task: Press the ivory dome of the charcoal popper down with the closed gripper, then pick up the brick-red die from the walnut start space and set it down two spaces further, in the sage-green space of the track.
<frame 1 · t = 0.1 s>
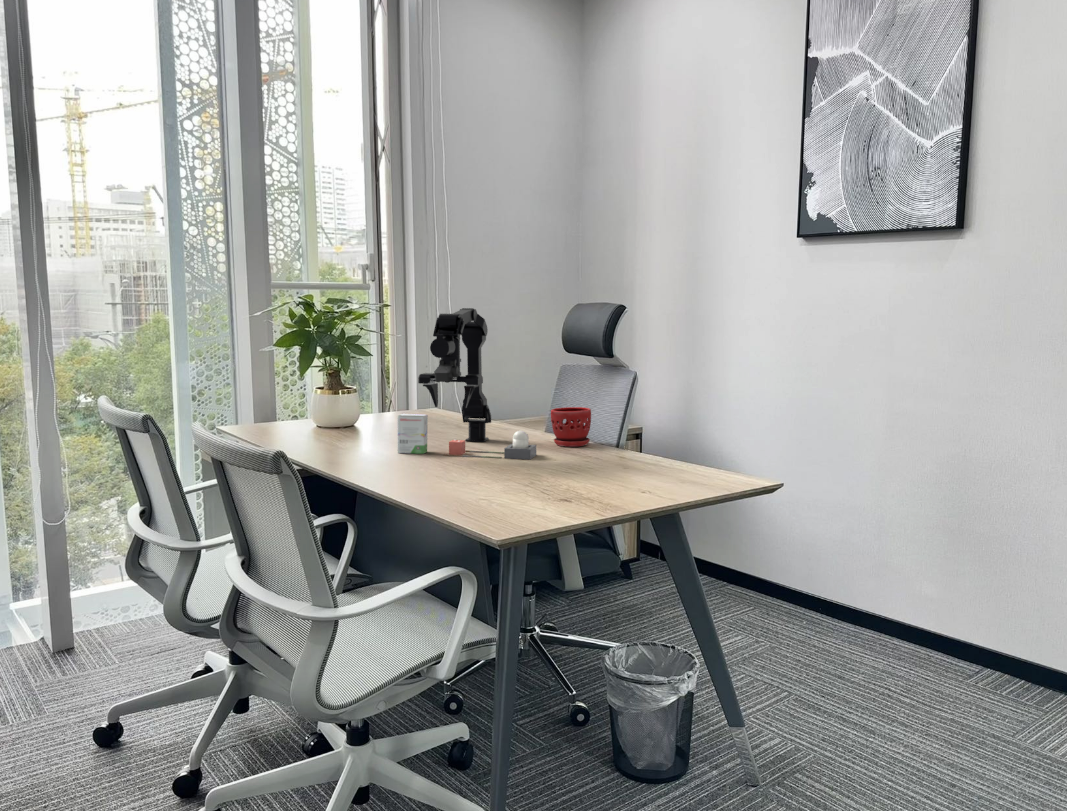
hand: (450, 407, 260), 15 cm above the table, fingers open, 9 cm apart
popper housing: (520, 456, 260), on the table
ink box: (412, 452, 267), on the table
dome: (520, 441, 260), point 5 cm above the table, slide at 0.0 cm
die: (457, 454, 265), on the table
plant pot: (570, 445, 281), on the table
track: (476, 454, 263), on the table
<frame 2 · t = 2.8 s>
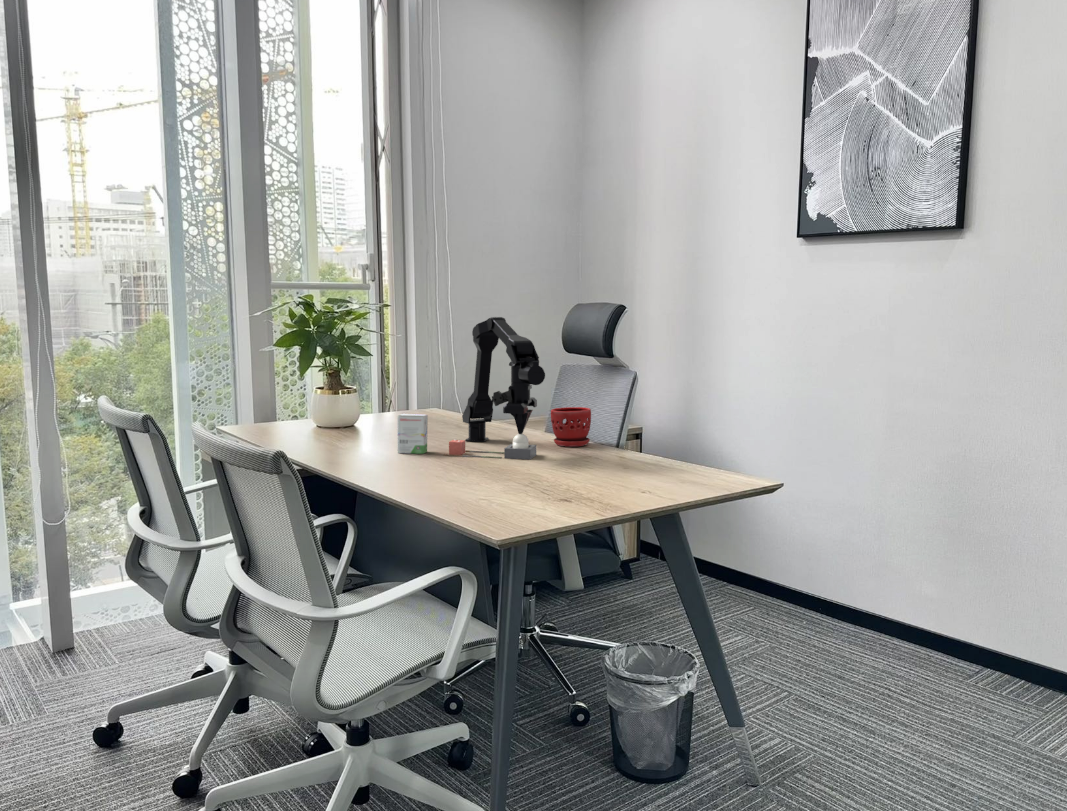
hand: (520, 433, 260), 7 cm above the table, fingers closed, pressing on dome
dome: (520, 444, 260), point 4 cm above the table, slide at -1.0 cm, touching gripper
everything else where it was.
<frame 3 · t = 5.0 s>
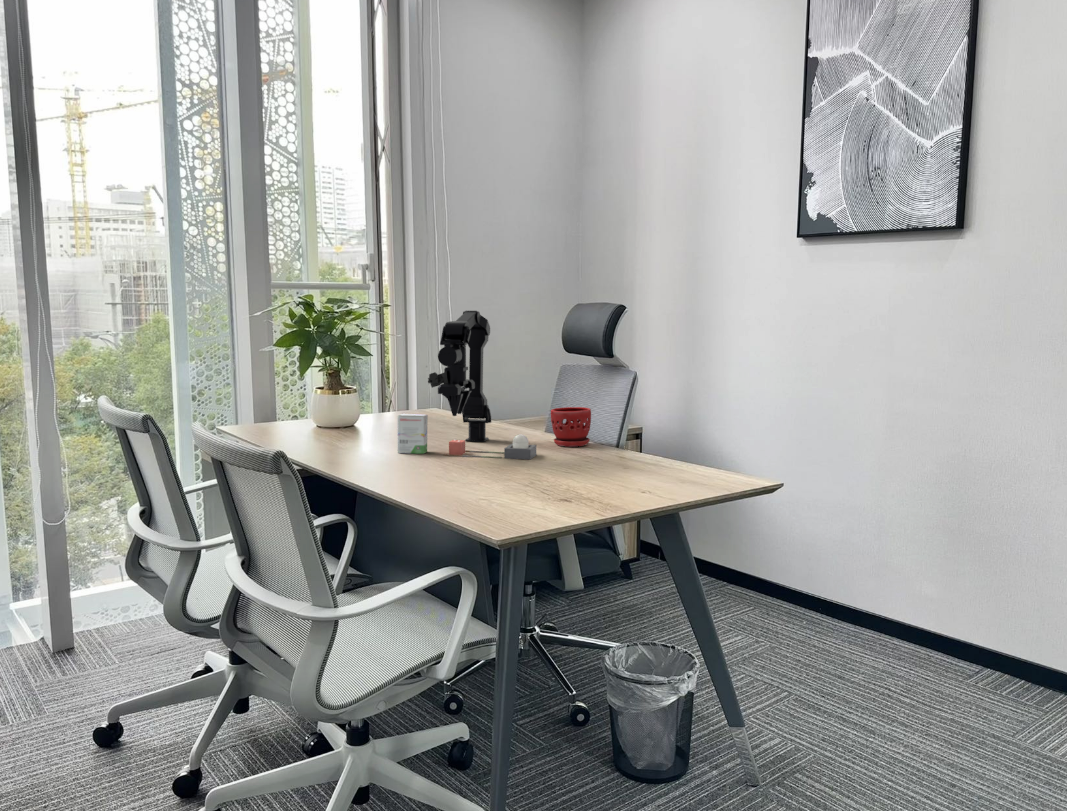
hand: (457, 414, 263), 12 cm above the table, fingers open, 5 cm apart
dome: (520, 444, 260), point 4 cm above the table, slide at -1.1 cm
everything else where it was.
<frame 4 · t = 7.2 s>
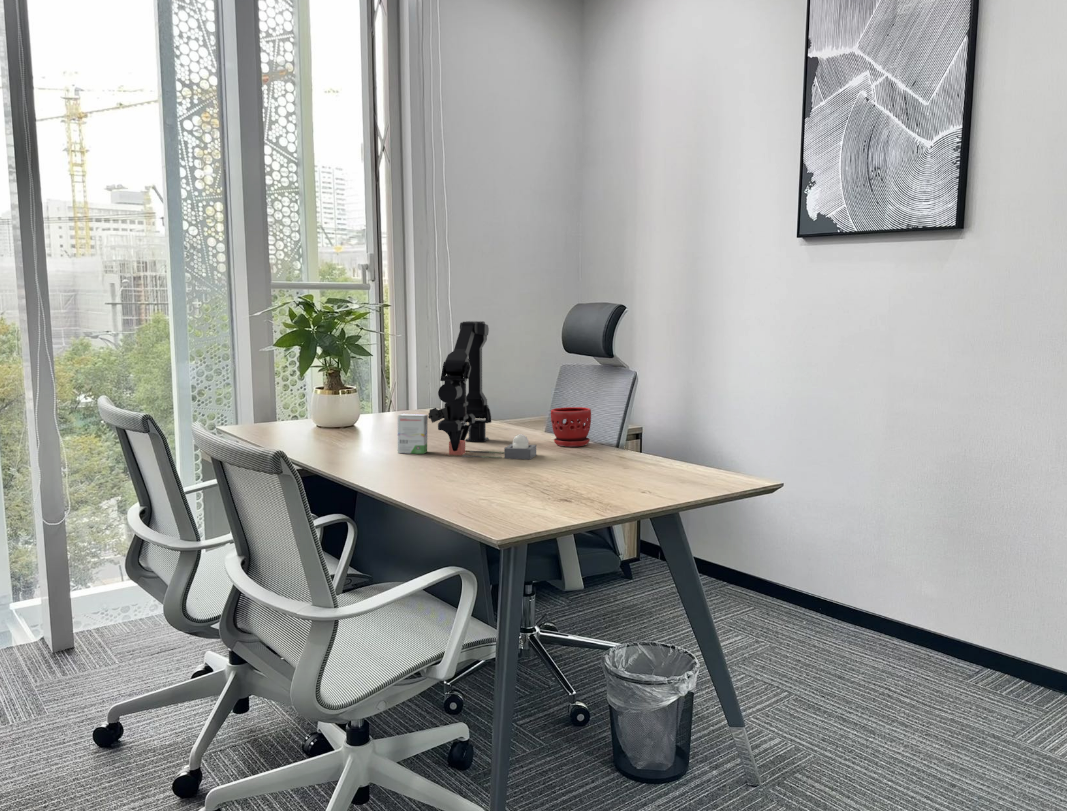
hand: (457, 449, 265), 1 cm above the table, fingers closed on die, 4 cm apart
die: (457, 453, 265), on the table, touching gripper
everything else where it was.
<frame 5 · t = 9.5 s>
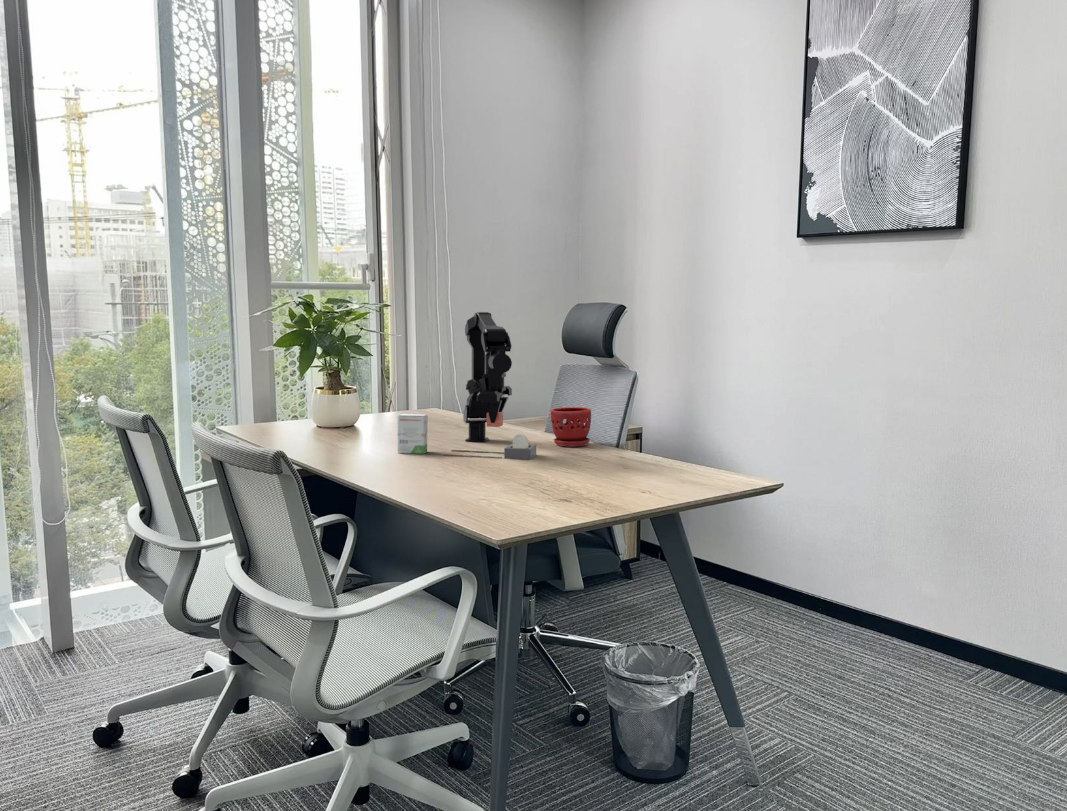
hand: (494, 421, 261), 10 cm above the table, fingers closed on die, 4 cm apart
die: (494, 425, 261), point 9 cm above the table, touching gripper
everything else where it was.
when the fingers open (2 cm above the table, at t = 11.6 s): die drops 1 cm, on the table.
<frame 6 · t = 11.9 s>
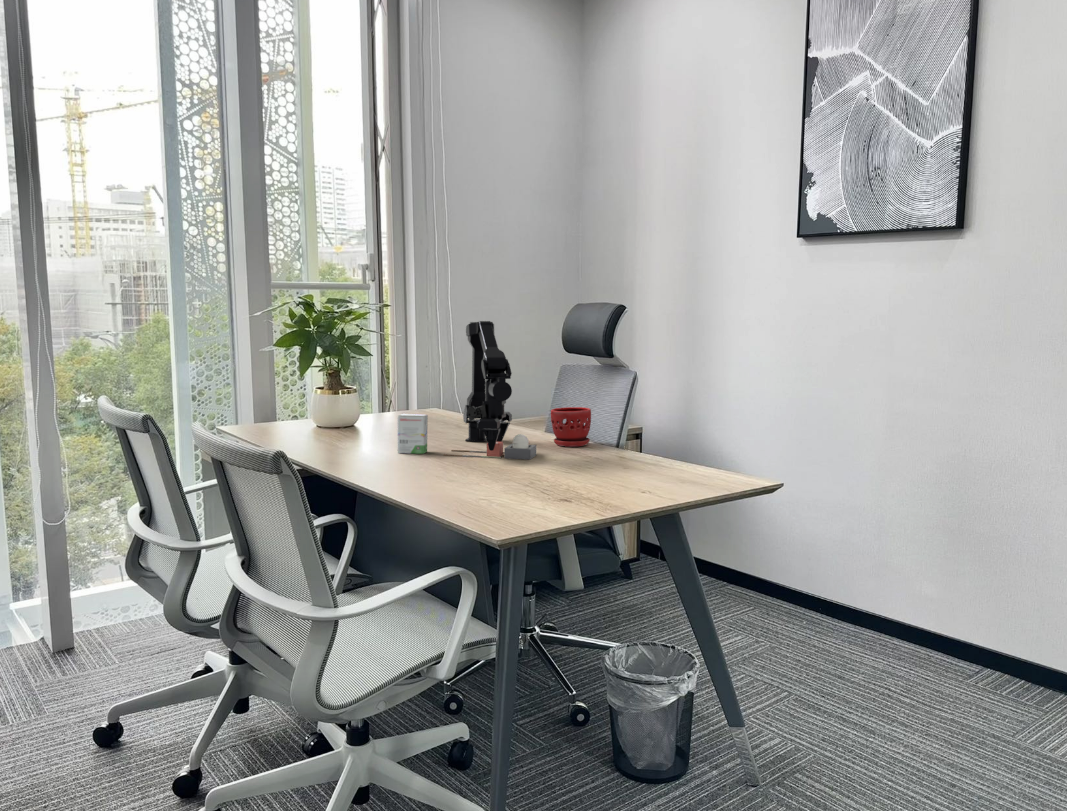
hand: (494, 448, 262), 2 cm above the table, fingers open, 8 cm apart
die: (494, 455, 262), on the table
everything else where it was.
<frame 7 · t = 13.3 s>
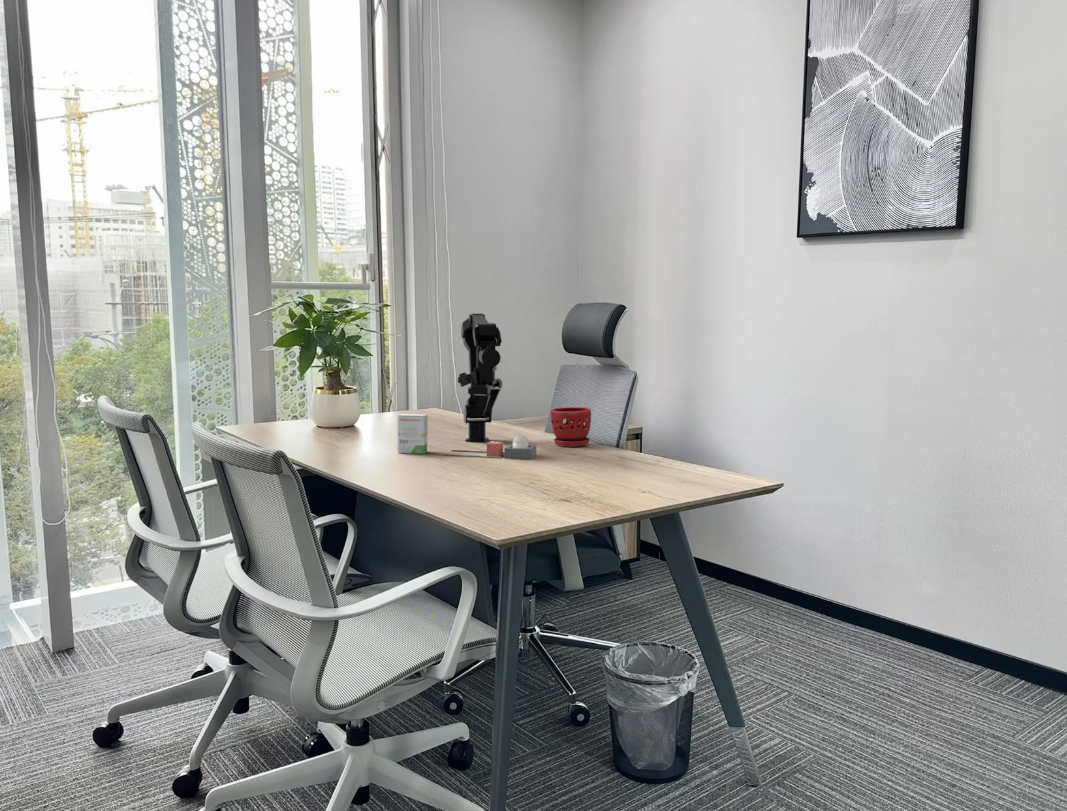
hand: (485, 413, 270), 11 cm above the table, fingers open, 9 cm apart
nothing on the table moved.
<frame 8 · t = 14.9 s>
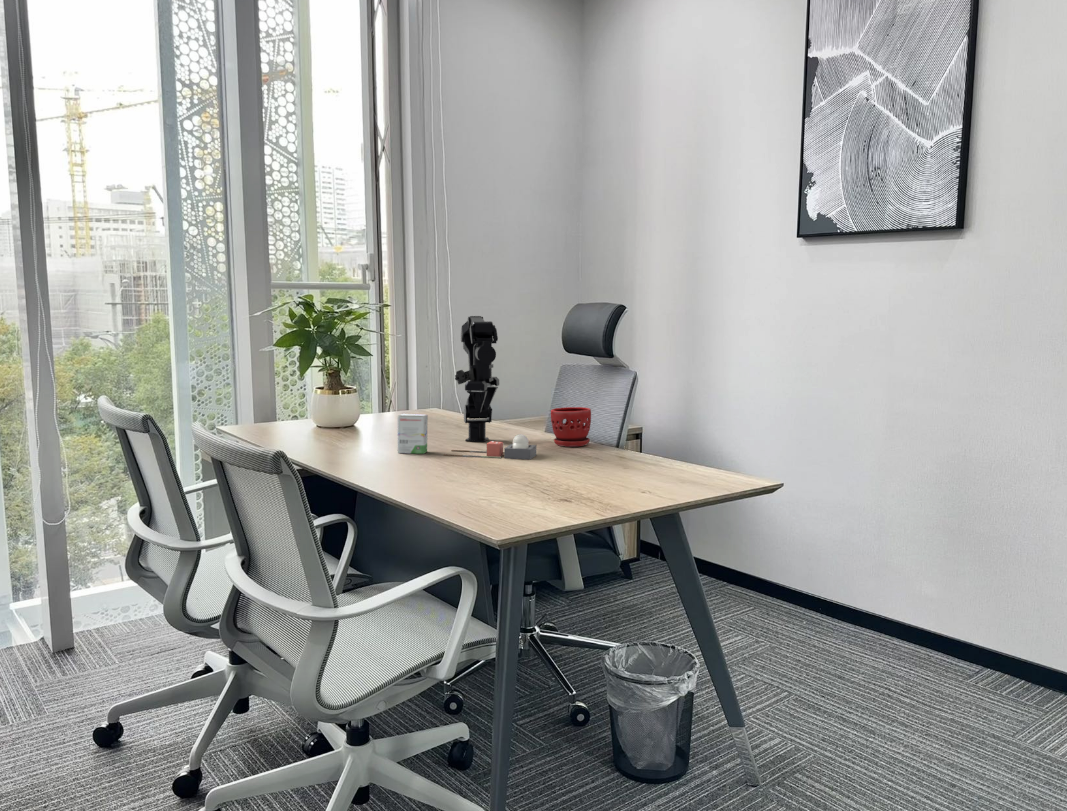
hand: (482, 410, 273), 12 cm above the table, fingers open, 9 cm apart
nothing on the table moved.
at the end: die 0.0 cm from the target spot, on the table; die tilted 0°; dome slide at -1.1 cm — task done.
